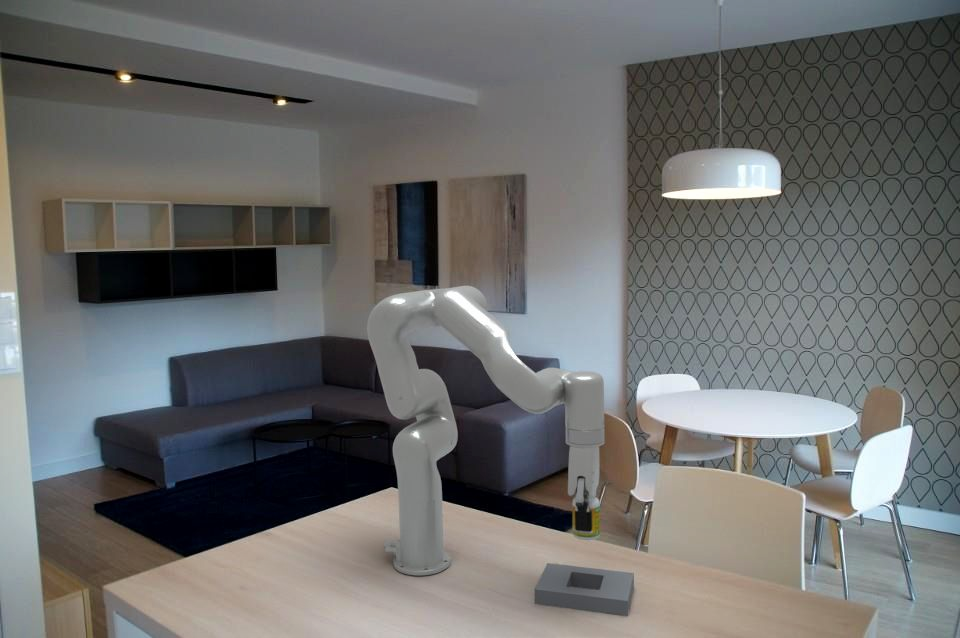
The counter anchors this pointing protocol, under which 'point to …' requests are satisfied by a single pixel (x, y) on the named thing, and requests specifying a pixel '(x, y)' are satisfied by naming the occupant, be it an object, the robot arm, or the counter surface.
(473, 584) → the counter surface
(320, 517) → the counter surface
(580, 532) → the supplement bottle
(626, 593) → the socket block
